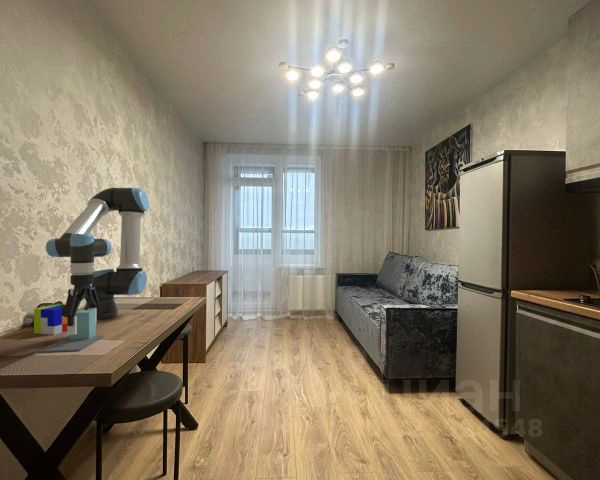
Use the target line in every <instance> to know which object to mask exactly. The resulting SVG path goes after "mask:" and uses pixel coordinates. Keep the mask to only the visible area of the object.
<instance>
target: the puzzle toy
mask: <svg viewBox="0 0 600 480" xmlns="http://www.w3.org/2000/svg"><path fill="white" fill-rule="evenodd" d="M65 304H66V303H62V304H59V303H57V304H52V305H47V306H43V307H42V306H41V307H37V308H33V333H34V334H37V335H38V334H39V335H41V334H42V335H51V336H52V335H57V334H61V333H64V332H67V317H64V316H63V312H64V308H65Z"/></svg>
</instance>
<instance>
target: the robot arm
mask: <svg viewBox="0 0 600 480" xmlns="http://www.w3.org/2000/svg"><path fill="white" fill-rule="evenodd" d="M149 208H150V201H149V197H148V195H147V193H146V191H145V190H144V189H143V188H140V187H110V188H106V189H103V190H101V191H99V192H98V193H96V194H94V195H93V196H92V197H91V198H90V199H89V200H88V202H87V206H86V207H85V208H84V209H83V210H82V212H81V213H80V214H79V215H78V217H77V218H76V219H75V220H74V221H73V222H72V223H71V224H70V225H69V227H68V228H67V229H66V230H65V231H64V232H63V234H61V236H60V237H59V238H56V237H55V238H51V239H49V240H48V241H47V242H46V244H45V251H46V253H47V255H48V256H50V257H53V258H70V265H69V268H70V274H71V275H70V276H69V277H70V280H69V281H70V285H72V286H73V288H68V290H67V298H66V301H65V303H64V304H65V308H64V312H63V316H64V317H67V331H66V332H67V336H69V335H76V334H77V316H75V314H76V312H77V310H79V306H80V305H81V302H82V301H83V300H85V305H84V308H83V310H96V321H98V320H103V319H104V320H105V319H109V318H110V319H111V318H113V317H114V318H115V317H117V316H118V315H119V309H118V307H117V303H116V302H115V296H135V295H139V294H140V295H141V293H143V291H144V290H145V288H146V285H147V281H148V276H147V272H146V271H144V270H143V267H142V266H141V264H140V250H141V246H140V245H141V219H142V218H143V217H144V216H145V212H147V211H148V210H149ZM115 211H116V212H117V213H118V215H119V216H120V217H121V222H120V223H121V230H120V232H121V233H120V256H119V257H120V258H119V265H118V266H117V267H116V270H115V269H114V268H105V269H101V270H95V258H98V257H101V258H102V257H105V256H108V255H109V254H110V253H111V252H112V243H111V242H110V241H109V240H108V239H105V238H101V237H100V238H99V237H98V238H95V235H94V234H93V233H91V232H92V230H93V229H94V228H95V226H96V225H97V224H99V221H100V220H101V219H102V218H103V217H104V216H106V215H108V214H109V213H110V212H115Z"/></svg>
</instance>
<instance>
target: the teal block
mask: <svg viewBox="0 0 600 480" xmlns="http://www.w3.org/2000/svg"><path fill="white" fill-rule="evenodd" d="M75 316H77V334H76V335H68V337H69V340H75V339H90V338H92V337H94V336H97V335H96V331H97V329H96V325H97V320H96V310H84V309H77V312H76V314H75Z"/></svg>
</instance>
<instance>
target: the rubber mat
mask: <svg viewBox="0 0 600 480" xmlns="http://www.w3.org/2000/svg"><path fill="white" fill-rule="evenodd" d="M102 338H104V335H103V334H102V335H101V334H100V335H96V336H94V337H92V338H90V339H75V340H69V336H66V337H64V338H62V339H59V340H58V341H56V342H54V343H52V344H49V345H48V346H46V347H45V346H44V347H43V348H41V349H40V350H38V352H37V353H39V354H41V353H42V354H43V353H62V352H63V353H65V352H66V353H67V352H68V353H69V352H81V351H82V350H84V349H86V348H87V347H89V346H91V345H92V344H94V343H96V342H97V341H99V340H101V339H102Z"/></svg>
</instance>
